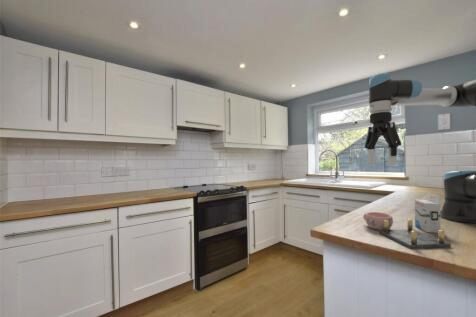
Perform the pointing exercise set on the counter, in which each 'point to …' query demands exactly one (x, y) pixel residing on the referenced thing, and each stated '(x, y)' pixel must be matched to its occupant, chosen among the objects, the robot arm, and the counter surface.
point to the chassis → (414, 237)
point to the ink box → (428, 213)
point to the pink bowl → (377, 220)
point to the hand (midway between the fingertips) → (381, 164)
